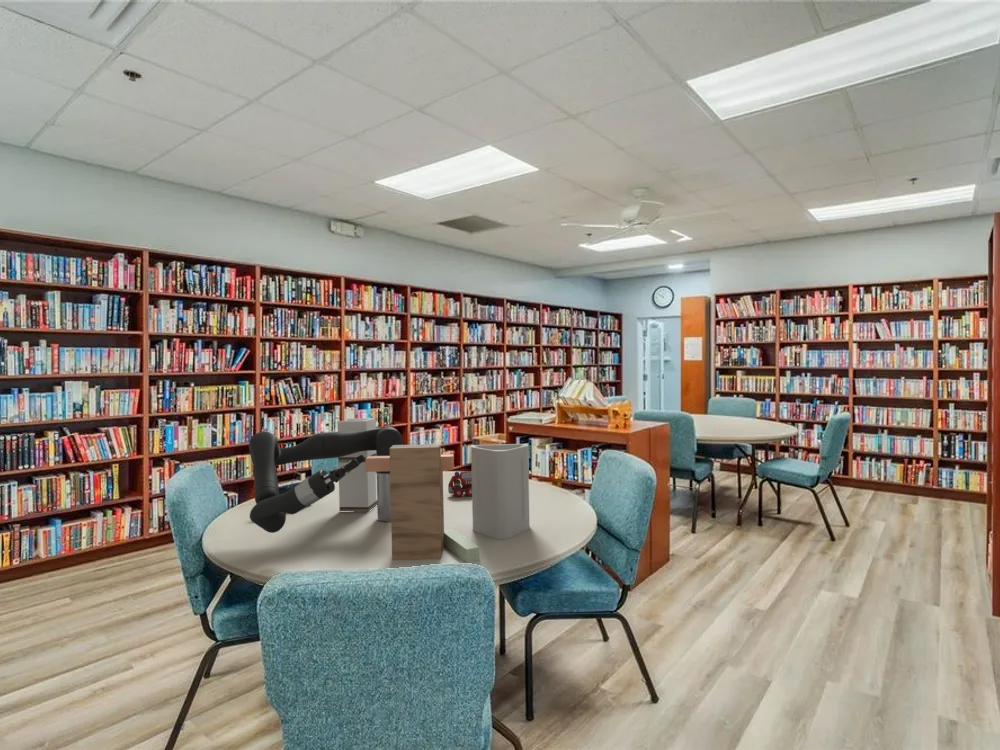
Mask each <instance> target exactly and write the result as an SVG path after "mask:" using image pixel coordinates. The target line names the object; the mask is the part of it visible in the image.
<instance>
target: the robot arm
mask: <svg viewBox="0 0 1000 750" xmlns="http://www.w3.org/2000/svg"><path fill="white" fill-rule="evenodd" d="M393 445H404V444H403V436H402V434H401V433H400V431H398V429H396V428H395V427H393V426H383V427H380V428H376V429H374V430H368V431H359V432H354V431H346V432H338V431H331V432H330V431H329V432H319V433H316V434H314V435H312V436H309V437H308V438H307V439H305V440H303V441H302V442H300V443H298V444H296V445H294V446H288V447H279V446H280V445H279V441H278V439H277V437H276V435H275V434H273V432H270V431H261V432H258V433H255V434H254V435H252V436H251V438H250V439H249V441H248V450H249V454H250V458H251V463H252V464H253V469H254V477H253V478H254V480H253V481H254V485H253V486H254V488H253V490H254V502H255V505H253V507H252V508H251V510H250V512H249V519H250V521H251V522H252V523H253V524H255V525H256V526H258V527H259V528H261V529H263V530H264V531H265V532H267V533H270V534H271V533H272V534H273V533H277V532H279V531H280V530H282V528H283V527H284V525H285V523H286V520H287V519H286V518H287V514H288V515H294V514H295V515H296V514H297V513H299V512H301V511H302V510H304V509H305V508H308V507H310V506H309V505H311V504H312V505H314V504H315V503H317V502H319V501H320V500H322V499H323V498H325V497H327V496H328V495H330V494H331V493H333V492H335V490H336V485H335V484H336V483H339V481H340V480H341V479H342V478H343V477H345V475H347V474H348V473H350V471H351V470H353V469H355V468H356V467H358V466H359V464H360V463H362V462H364V461H365V457H364V456H363V455H360V456H358V457H357V458H355V459H353V460H350V461H349V462H347V463H343V464H342V465H340V466H339V467H338V466H336V467H334V468H332V469H331V470H329V472H328V471H326V470H324V469H320V470H318V471H316V472H315V473H313V474H312V475H309V476H307V478H305V479H303V480H302V481H299V482H300V483H299V482H298V483H299V484H298V485H297V486H295V487H294V488H292V489H290V490H289V491H287V492H286V493H283V494H280V495H279V487H280V486H279V480H278V475H277V470H276V466H280V465H286V464H287V465H288V464H292V463H298V462H299V463H300V462H304V461H315V460H326V459H335V458H336V459H338V457H342V456H346V455H350V454H353V453H357V452H361V451H372V450H376V456H390V447H392V446H393ZM376 500H377V506H376V508H377V521H380V522H391V490H390V471H382V472H376ZM312 505H311V506H312Z"/></svg>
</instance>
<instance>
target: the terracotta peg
mask: <svg viewBox="0 0 1000 750" xmlns="http://www.w3.org/2000/svg"><path fill="white" fill-rule="evenodd" d="M454 459H455V456H454V453H453V454H452V453H451V454H441V470H443V471H450V470H451V471H453V470H454V468H455V462H454ZM382 471H390V456H377V455H376V456H368V457H367V458H366V472H376V473H377V472H382Z"/></svg>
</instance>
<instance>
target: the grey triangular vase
mask: <svg viewBox="0 0 1000 750" xmlns="http://www.w3.org/2000/svg"><path fill="white" fill-rule="evenodd" d="M470 449H471V452H470V454H471V456H470V457H471V461H470V462H471V471H472V496H471V497H472V498H471V503H472V505H471V506H472V507H471V508H472V510H471V511H472V531H474V532H476V533H479V534H482V535H484V536H487V537H489V538H493V539H496V540H509V539H510V538H512V537H515V536H518V535H519V534H521V533H524V532H526V531H528V530H530V491H529V490H530V488H529V487H530V484H529V483H530V482H529V481H530V480H529V445H528V443H507V444H503V443H502V444H500V443H499V444H498V443H497V444H472V445H471V446H470Z"/></svg>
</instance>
